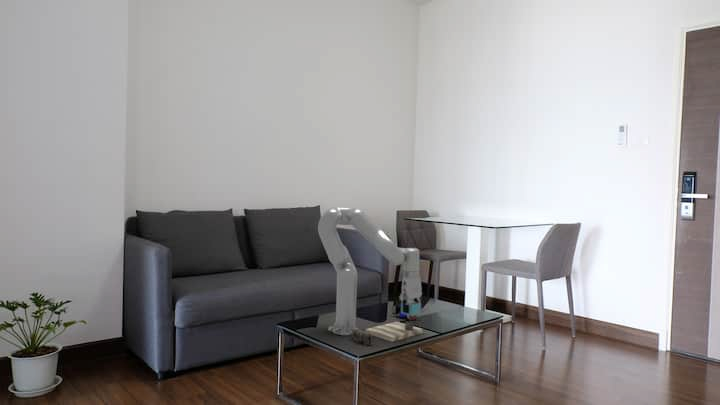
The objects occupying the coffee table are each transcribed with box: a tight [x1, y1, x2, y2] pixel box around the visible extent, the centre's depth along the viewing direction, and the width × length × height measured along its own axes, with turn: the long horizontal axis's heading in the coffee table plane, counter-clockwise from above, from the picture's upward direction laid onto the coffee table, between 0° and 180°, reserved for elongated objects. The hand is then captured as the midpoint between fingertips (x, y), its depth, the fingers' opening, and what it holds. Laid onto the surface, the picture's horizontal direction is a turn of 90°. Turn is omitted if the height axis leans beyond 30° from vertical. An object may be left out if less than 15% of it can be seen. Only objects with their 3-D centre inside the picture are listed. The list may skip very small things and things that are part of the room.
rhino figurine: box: [349, 328, 373, 347], centre depth 230 cm, size 4×14×6 cm, turn 42°
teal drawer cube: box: [400, 301, 422, 316], centre depth 245 cm, size 7×7×5 cm
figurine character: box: [390, 303, 418, 321], centre depth 275 cm, size 7×8×15 cm
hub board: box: [365, 320, 424, 343], centre depth 245 cm, size 22×17×6 cm
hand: (410, 310), depth 245 cm, fingers closed on teal drawer cube, 6 cm apart
